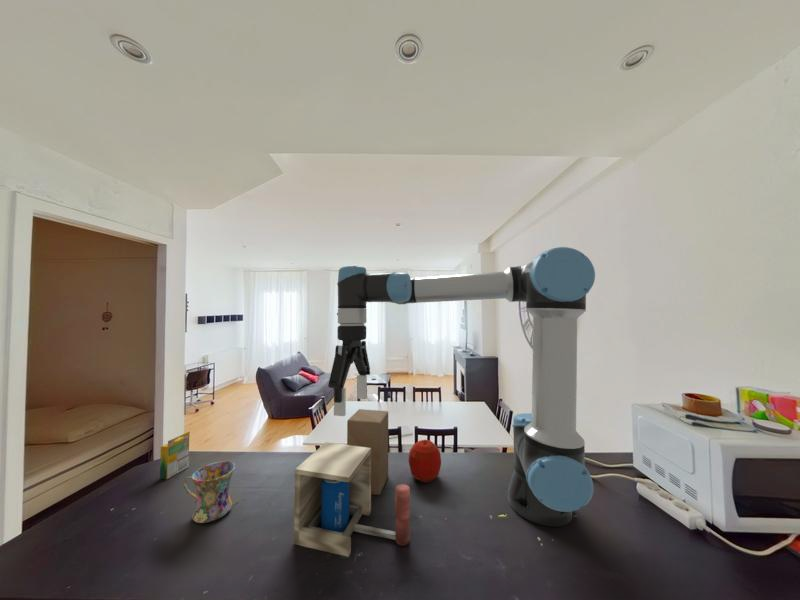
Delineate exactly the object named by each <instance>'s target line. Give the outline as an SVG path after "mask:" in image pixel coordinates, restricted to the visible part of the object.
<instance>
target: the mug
mask: <svg viewBox="0 0 800 600" xmlns="http://www.w3.org/2000/svg"><path fill="white" fill-rule="evenodd" d="M235 469H236V464H235V463H234V462H232V461H228V460H227V461H226V460H222V461H217V462H211V463H209V464H206V465H204V466H202V467H200V468H198V469H197V470H196V471H194V472H193V474H192V475H191V476H187V477H185V479H184V480H183V482H182V485H183V489H184V490H185V491H184V492H186V493H187V495H189V496H190V497H191V498H193V499H195V500H196V501H195V502H194V503H195V504H196V506H195V508H194V511H193V513H192V515H191V518H192V520H193V521H194V522H195V523H198V524H205V523H206V524H207V523H211V522H214V521H216V520H219V519H221V518H222V517H224V516H225V515H226V514H228V513H229V512H230V510H231V509H232V508H233V500H232V499H231V497H230V483H231V479H232V477H233V474H234V471H235ZM190 479H191V481H192V482H193V484H194V486H195V490H196V494H197V495H196V494H195V493H193V492H192V491H191V490H190V489H189V488H188V486H187V480H190Z"/></svg>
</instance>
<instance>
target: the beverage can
mask: <svg viewBox="0 0 800 600" xmlns="http://www.w3.org/2000/svg"><path fill="white" fill-rule="evenodd" d="M349 522H350V515H349V482H343V481H337V480H331V479H325V478H323V480H322V494H321V522H320V528H322V529H326V530H331V531H336V532H341V533H344V531H345V529H346V527H347V526H348V524H349Z"/></svg>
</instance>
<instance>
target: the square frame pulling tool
mask: <svg viewBox="0 0 800 600" xmlns="http://www.w3.org/2000/svg"><path fill="white" fill-rule="evenodd" d="M394 489H395V492H394V493H395V499H394V501H395V514H394V515H395V527H394V528H395V531H394V530H389V529H384V528H380V527H379V528H377V527H374V526H368V525H364V524H359V522H360V520H361V517H362V516H363V514H362V507H360V506H354V505H349V517H350V516H351V517H352V518H351V519H350V520H349V524H348V526H347V527H346V529H345V530H344V531H343V532H342V533H341V532H336V531H331V530H326V529H322V528H321V527H318V526H319V525H320V524H321V509H320V510H319V512H318V513H317V514H316V516H315V517H314V518H313V520H312V521H311V522H310V523H309V525H308V526H307V527H306V528H310V529H315V530H319V531H324V532H329V533H333V534H338V535H343V536H347V537H351V536H352V534H353V532H356V533H360V534H365V535H368V536H369V535H370V536H374V537H379V538H384V539H389V540H394V541H395V542H396V544H397V545H398V546H407V545H408V544H409V543H410V540H411V519H410V518H411V514H410V513H411V511H410V510H411V509H410V508H411V503H410V502H411V501H410V500H411V498H410V497H411V493H410V491H411V489H410V486H409V485H407V484H405V483H404V484H403V483H401V484H397V485H396V486H395V488H394Z"/></svg>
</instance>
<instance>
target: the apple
mask: <svg viewBox="0 0 800 600" xmlns="http://www.w3.org/2000/svg"><path fill="white" fill-rule="evenodd" d="M408 465H409V468H410V473H411V475H412V476H413V477H414V478H416V479H417V480H418V481H420V482H421V483H431V482H432V481H434V479H436V478H437V477H438V476H439V475H440V471H441V467H442V455H441V452H440V450H439V447H438V446H437V445H436V444H435V443H434V442H433V441H431V440H429V439H422V440H421V439H420V440H418V441H416V442H415V443H414V444H413V445H412V446H411V448H410V450H409V454H408Z"/></svg>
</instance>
